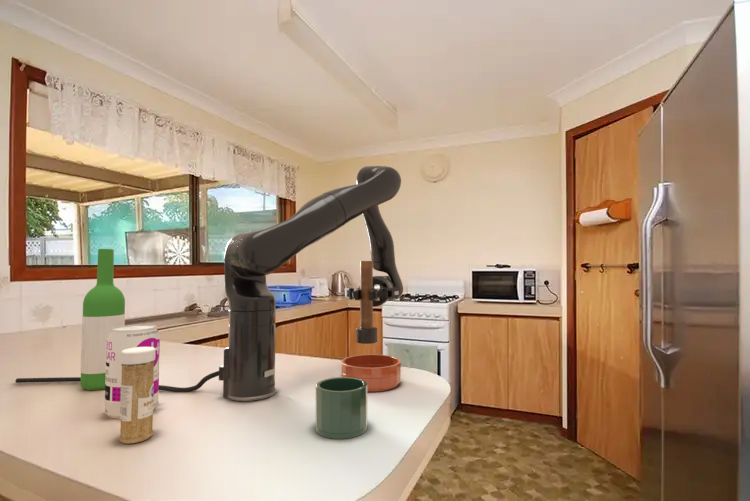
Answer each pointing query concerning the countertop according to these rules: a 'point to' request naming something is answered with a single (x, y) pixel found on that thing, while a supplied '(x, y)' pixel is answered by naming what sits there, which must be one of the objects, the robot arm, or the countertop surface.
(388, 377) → the bowl
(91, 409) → the countertop surface
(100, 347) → the wine bottle
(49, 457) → the countertop surface
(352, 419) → the pot
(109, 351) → the supplement can
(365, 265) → the brush
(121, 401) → the sprinkles bottle
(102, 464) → the countertop surface
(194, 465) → the countertop surface
